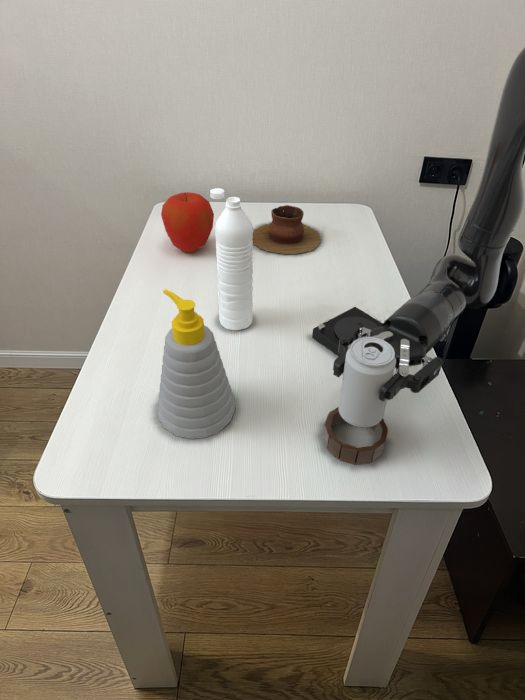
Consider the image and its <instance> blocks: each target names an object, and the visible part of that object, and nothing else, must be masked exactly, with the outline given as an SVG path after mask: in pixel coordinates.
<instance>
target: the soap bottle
mask: <svg viewBox="0 0 525 700" xmlns="http://www.w3.org/2000/svg"><path fill="white" fill-rule="evenodd" d="M162 292H163V294H164V295H166V296H167V297H169V299H171V301H173V303H174V304H175V305H176V308H177V309H178V313H177V314H176V316H175V317H173V319H172V320H171V328H170V329H169V330H168V332H167V333H166V335H165V337H164V346H163V355H162V365H161V374H160V383H159V392H158V400H157V418H158V420H159V421H160V424H161V425H162V427H163V428H164V429H165V430H166V431H169V432H170V433H171V434H173V435H174V436H175V437H181V438H184V439H185V438H187V439H190V440H192V439H200V438H201V439H202V438H208V437H210V436H212V435H214V434H217V433H219V432H221V431H222V430H223V429H225V427H227V426H228V424H230V423H231V422H232V420H233V417H234V414H235V411H236V409H237V408H236V401H235V396H234V392H233V390H232V387H231V384H230V382H229V381H230V380H229V377H228V376H227V372H226V368H225V366H224V362H223V359H222V358H221V353H220V350H219V348H218V344H217V341H216V340H215V336H214V333H213V331H212V330H211V329H210V328H209V327H208V326H206V325H205V319H204V318H203V317H202V315H200V314H198V313H197V312H196V311H195V307H196V303H195V301H194V300H192V299H183V298H182V297H180V296H179V295H177V294H176V293H175V292H173V291H171V290H169V289H167V288H165V289H163V290H162Z"/></svg>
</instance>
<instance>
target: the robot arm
mask: <svg viewBox="0 0 525 700" xmlns="http://www.w3.org/2000/svg"><path fill="white" fill-rule="evenodd" d="M500 96H501V97H500V100H499V103H498V108H497V112H496V117H495V120H494V124H493V128H492V132H491V136H490V140H489V145H488V149H487V153H486V157H485V162H484V166H483V169H482V170H483V171H482V174H481V179H480V182H479V185H478V188H477V192H476V194H475V197H474V200H473V202H472V205H471V207H470V209H469V212H468V213H467V216H466V218H465V220H464V223H463V226H462V228H461V230H460V233H459V235H458V239H457V247H458V248H459V250H460V251H461V252H462V253H463V254H464V255H465V256H466V257H465V256H462V255H460V254H456V253H450V254H447V255H444V256H442V257H441V258H440V259H439V260H438V262H437V263H436V264H435V267H434V268H433V270H432V273H431V276H430V279H429V282H428V283H427V284H426V285H425V287H423V288H422V289H421V290H420V291H419V292H418V293H417V294H416V295H415V296H414V295H413V296H412V297H411V298H409V299H408V300H407V301H406V302H404V303H403V304H402V305H401V306H400V307H398V309H397V310H395V311H394V312H393V313H392V314H391V315H390V316H389V317H387V318H386V320H385V321H384V322H382V323H383V324H382V325H381V327H379V328H375V329H373V330H370V329H367V328H365V327H363V322H362V321H356V322H355V323H354V324H353V325H352V326H351V327H350V328H349V329H348V330H347V331H346V332H345V333H344V335H343V336H342V337H341V338H340V341H339V348H338V354H339V355H340V356H337V357H336V358H335V359H334V361H333V367H332V371H333V373H332V375H333V376H335V377H337V378H340V377H341V376H343V372H344V366H345V359H346V353H347V351H348V349H349V348H350V346H351V344H352V343H353V342H354V341H355V340H357V339H359V338H363V337H375V338H379V339H382V340H384V341H386V342H387V343H389V344H390V345H391V346H392V347H393V349H394V352H395V358H396V365H395V372H394V373H393V376H392V378H391V379H390V380H389V381H388V382H387V383H386V384H385V385H384V386H383V387H382V388H381V390H380V394H379V400H381V401H383V402H384V401H385V400H386V399H387V401H391V400H393V399H394V398H395V397H396V396H397V395H398V394H399V393H400V392H401V390H404V389H409V391H411V392H412V394H413V393H414V394H418V393H420V392H421V391H422V390H423V389H424V388H425V387H427V386H428V385H429V384H431V382H432V381H434V380H435V379H436V378H437V377H438V376H440V372H441V370H442V366H443V363H444V359H443V358H442V357H439V356H435V357H434V358H432V357H430V356H428V355H427V354H428V353H429V352H430V351H431V350H432V349H433V348H434V347H435V346H436V344H437V343H439V341H441V340H442V339H443V338H444V336H445V335H446V334H447V331H449V329H450V327H451V326H452V325H453V324H454V323H455V322H456V320H457V319H458V318H460V317H461V316H462V314H463V312H464V311H465V309H466V308H469V309H473V310H476V309H477V310H478V309H480V308H483V307H486V305H487V304H489V302H490V301H492V299H493V297H494V296H495V293H496V291H497V289H498V288H497V287H498V283H499V276H500V269H501V263H502V258H503V254H504V252H505V249H506V247H507V245H508V243H509V241H510V239H511V237H512V235H513V233H514V232H515V229H516V227H517V225H518V223H519V221H520V220H521V217H522V213H523V209H524V205H525V186H524V177H523V161H524V157H525V46H524V47H523V48H522V49H521V51H520V52H518V54H517V55H516V57H515V59H514V61H513V63H512V65H511V66H510V69H509V71H508V74H507V77H506V79H505V83H504V86H503V88H502V93H501V95H500ZM420 365H422V367H421V368H420V369H419V370H418V371H417V372H415V374H411V373H409V372H410V370H409V369H410V368H409V367H415V366H420Z"/></svg>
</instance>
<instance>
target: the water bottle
mask: <svg viewBox="0 0 525 700" xmlns="http://www.w3.org/2000/svg"><path fill="white" fill-rule="evenodd" d="M225 195H226V193H225V190H224V189H223V188H219V187H216V188H212V189H210V190H209V197H210V198H211V199H214V200H222V199H224V198H225V197H226V196H225ZM225 201H226V202H225V203H224V204H225V205H224V206H225V208H224V209H223V211H222V212H221V214H220V215H219V217H218V218H217V220H216V222H215V226H214V235H215V252H216V254H215V255H216V275H217V293H218V295H217V296H218V297H217V298H218V318H219V319H218V320H219V324H220V325H221V326H222V327H224V328H225V329H226V330H230V331H231V330H232V331H242V330H246V329H247V328H249V327H250V325H252V324H253V291H254V290H253V288H254V287H253V283H254V279H253V278H254V277H253V273H254V272H253V271H254V270H253V259H254V257H253V255H254V253H253V251H254V250H253V249H254V248H253V245H254V244H253V240H252V239H253V232H254V228H253V223H252V221H251V219H250V218H249V216H248V215H247V213H246V212H245V211H244V209H243V208H242V205H243V204H242V202H241V198H240V197H238V196H230V197H227V198H226V200H225Z"/></svg>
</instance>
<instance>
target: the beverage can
mask: <svg viewBox="0 0 525 700" xmlns="http://www.w3.org/2000/svg"><path fill="white" fill-rule="evenodd" d="M395 365H396V358H395V352H394V349H393V347H392V346H391V345H390V344H389V343H387V342H386V341H384V340H382V339H379V338H375V337H363V338H359V339H357V340H355V341H354V342H353V343H352V344H351V346H350V348H349V349H348V351H347V353H346V359H345V366H344V372H343V374H342V378H341V379H342V380H341V387H340V392H339V393H340V394H339V401H338V406H337V407H338V409H339V413H340V415H341V417H342V418H343V419H344V420H345V423H348V425H351V426H354V427H357V428H369V427H371V426H374V425H376V424H378V423H379V422H380V421H381V420H382V418H383V419H384V416H385V415H384V414H385V411H386V406H387V403H388V400H387V399H386V400H385V401H384V402H383V401H381V400H379V394H380V390H381V388H382V387H383V386H384V385H385V384H386V383H387V382H388V381H389V380H390V379H391V378H392V376H393V375H394V374H395V370H396V368H395Z"/></svg>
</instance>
